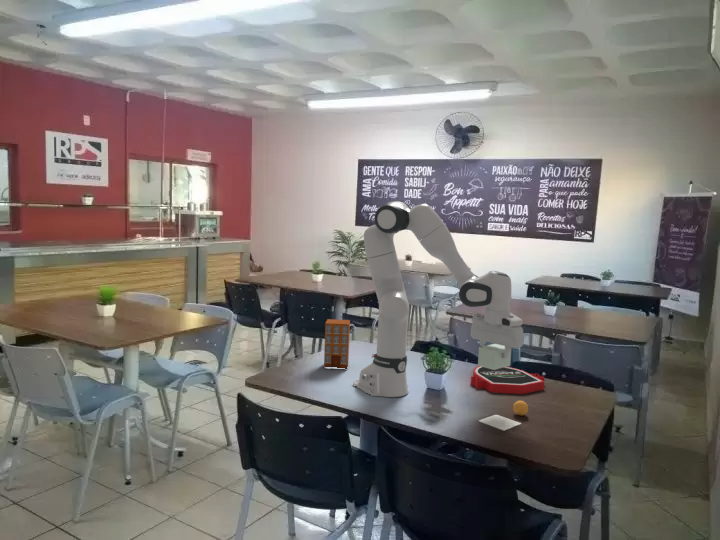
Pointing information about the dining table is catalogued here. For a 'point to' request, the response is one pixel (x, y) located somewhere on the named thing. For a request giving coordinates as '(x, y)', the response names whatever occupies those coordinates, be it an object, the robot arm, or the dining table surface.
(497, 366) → the pale green rectangular prism
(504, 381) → the emblem
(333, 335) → the miniature building
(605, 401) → the dining table surface
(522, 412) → the ball
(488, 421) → the mark
